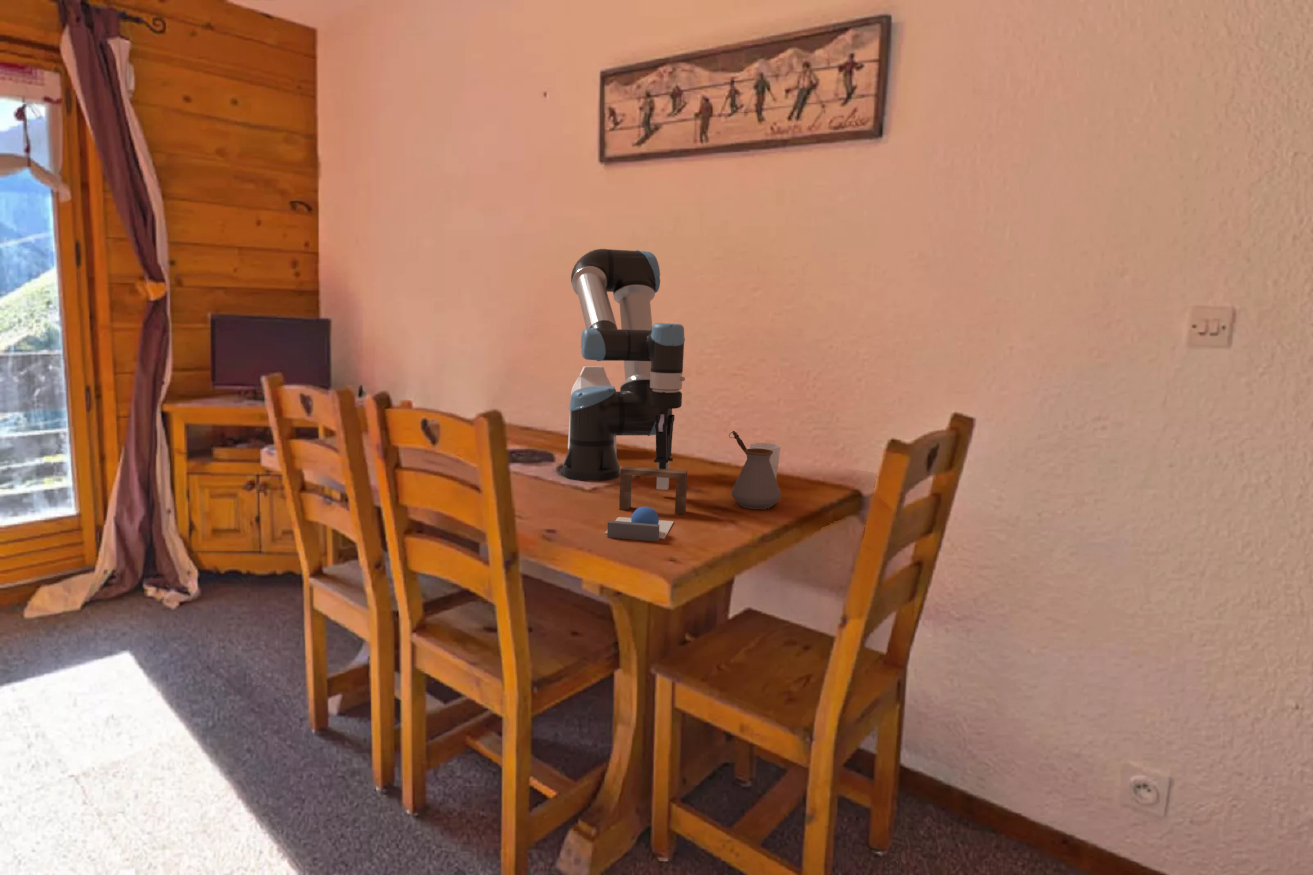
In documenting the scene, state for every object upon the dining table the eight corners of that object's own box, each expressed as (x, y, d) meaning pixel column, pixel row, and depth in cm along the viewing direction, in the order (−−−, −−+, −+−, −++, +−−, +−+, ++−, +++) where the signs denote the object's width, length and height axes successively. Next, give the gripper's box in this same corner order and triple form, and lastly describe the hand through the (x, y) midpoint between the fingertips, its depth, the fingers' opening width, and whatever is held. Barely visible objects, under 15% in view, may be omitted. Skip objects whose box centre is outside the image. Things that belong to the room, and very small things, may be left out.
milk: (578, 456, 227) (580, 368, 223) (567, 448, 238) (568, 365, 233) (616, 454, 232) (618, 368, 227) (604, 447, 242) (606, 365, 238)
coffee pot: (789, 510, 175) (793, 445, 172) (742, 513, 171) (746, 447, 169) (750, 488, 195) (754, 429, 192) (708, 490, 191) (711, 430, 189)
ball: (627, 529, 150) (630, 502, 152) (632, 536, 155) (635, 510, 157) (655, 530, 149) (658, 503, 151) (659, 538, 154) (661, 511, 156)
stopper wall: (607, 537, 150) (607, 522, 150) (609, 535, 152) (609, 520, 151) (657, 541, 148) (658, 526, 148) (658, 539, 150) (659, 524, 149)
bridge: (619, 509, 170) (620, 469, 169) (622, 506, 173) (623, 466, 172) (683, 514, 168) (685, 473, 166) (685, 511, 171) (687, 470, 169)
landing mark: (604, 533, 152) (604, 532, 152) (618, 517, 164) (618, 516, 164) (664, 539, 150) (664, 538, 150) (673, 522, 162) (673, 521, 162)
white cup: (777, 487, 196) (779, 449, 194) (746, 485, 198) (748, 447, 196) (778, 480, 204) (781, 443, 202) (749, 478, 205) (751, 441, 204)
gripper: (677, 394, 172) (673, 496, 176) (685, 388, 185) (682, 483, 189) (644, 392, 173) (641, 494, 177) (655, 386, 186) (652, 481, 190)
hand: (662, 488), depth 183 cm, fingers closed
